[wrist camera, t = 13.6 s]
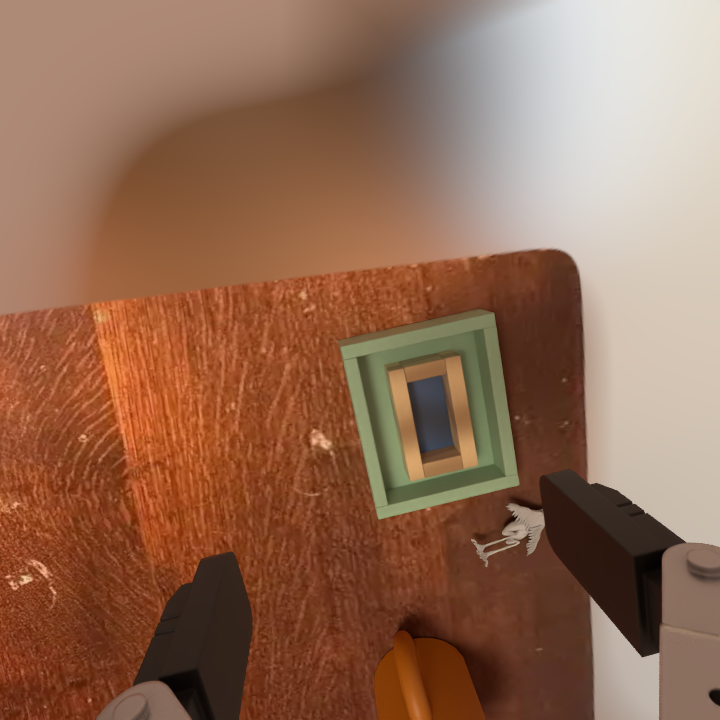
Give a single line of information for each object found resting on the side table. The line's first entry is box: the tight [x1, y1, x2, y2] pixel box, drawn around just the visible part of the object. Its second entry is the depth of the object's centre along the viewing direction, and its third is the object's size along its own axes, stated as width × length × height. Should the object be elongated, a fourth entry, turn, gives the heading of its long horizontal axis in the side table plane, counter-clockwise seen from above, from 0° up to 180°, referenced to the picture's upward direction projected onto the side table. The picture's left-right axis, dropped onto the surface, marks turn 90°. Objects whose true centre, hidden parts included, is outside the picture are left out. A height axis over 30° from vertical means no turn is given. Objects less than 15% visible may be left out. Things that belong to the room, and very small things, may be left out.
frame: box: [384, 350, 478, 481], centre depth 37 cm, size 9×6×2 cm, turn 12°
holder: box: [338, 309, 519, 519], centre depth 38 cm, size 14×12×3 cm
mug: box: [374, 630, 486, 720], centre depth 40 cm, size 9×12×9 cm
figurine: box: [471, 503, 545, 567], centre depth 41 cm, size 6×2×8 cm
